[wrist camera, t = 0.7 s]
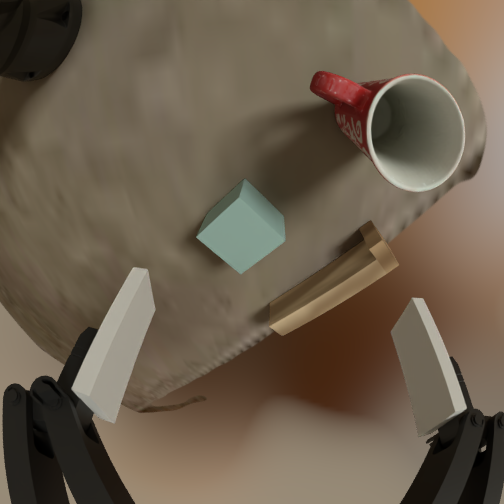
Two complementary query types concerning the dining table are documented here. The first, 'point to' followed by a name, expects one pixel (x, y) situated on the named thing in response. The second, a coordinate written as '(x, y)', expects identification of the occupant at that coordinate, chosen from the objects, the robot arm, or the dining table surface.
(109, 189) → the dining table surface
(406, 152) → the mug
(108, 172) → the dining table surface
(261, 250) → the block
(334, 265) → the stop board
